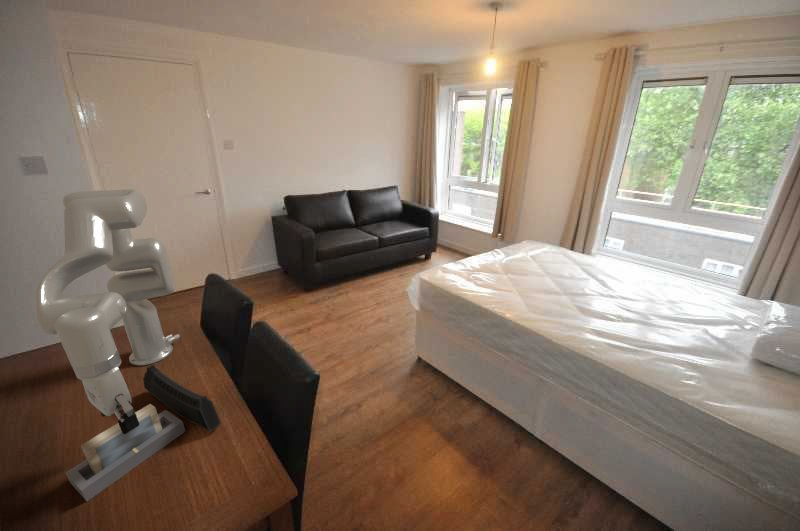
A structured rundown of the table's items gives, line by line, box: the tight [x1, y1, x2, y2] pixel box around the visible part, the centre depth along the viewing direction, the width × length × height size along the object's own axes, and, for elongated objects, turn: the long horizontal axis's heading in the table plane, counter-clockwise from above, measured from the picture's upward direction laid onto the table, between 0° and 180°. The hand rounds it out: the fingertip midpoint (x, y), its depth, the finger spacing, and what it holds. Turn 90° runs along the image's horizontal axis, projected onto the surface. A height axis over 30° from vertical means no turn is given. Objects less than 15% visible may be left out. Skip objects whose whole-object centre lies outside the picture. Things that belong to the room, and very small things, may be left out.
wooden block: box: [79, 403, 163, 475], centre depth 80 cm, size 14×3×9 cm, turn 152°
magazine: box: [142, 364, 222, 432], centre depth 93 cm, size 17×3×30 cm
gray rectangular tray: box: [65, 409, 186, 502], centre depth 81 cm, size 21×8×4 cm, turn 151°
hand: (120, 420), depth 78 cm, fingers open, 9 cm apart
